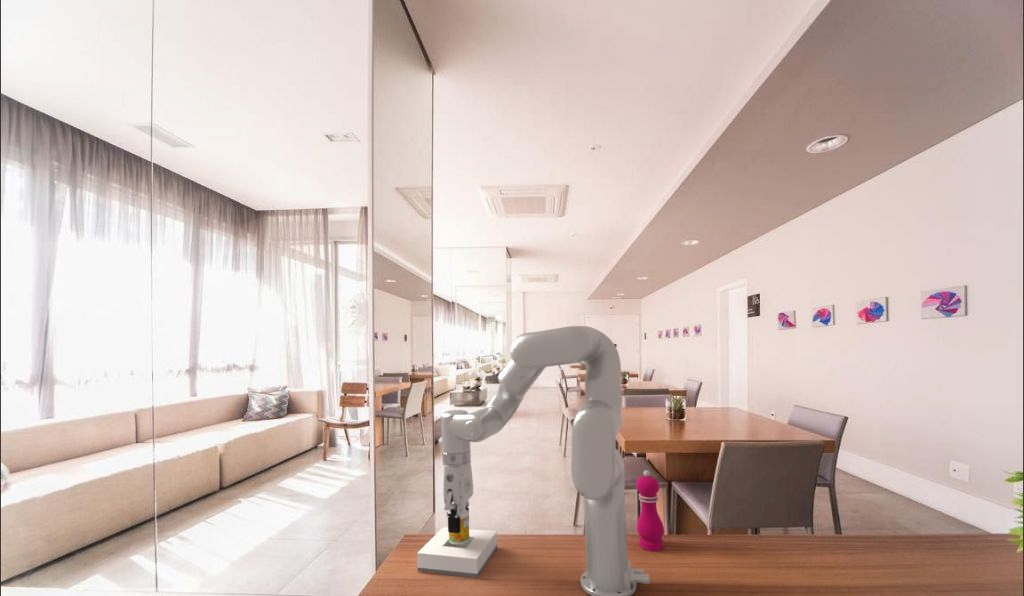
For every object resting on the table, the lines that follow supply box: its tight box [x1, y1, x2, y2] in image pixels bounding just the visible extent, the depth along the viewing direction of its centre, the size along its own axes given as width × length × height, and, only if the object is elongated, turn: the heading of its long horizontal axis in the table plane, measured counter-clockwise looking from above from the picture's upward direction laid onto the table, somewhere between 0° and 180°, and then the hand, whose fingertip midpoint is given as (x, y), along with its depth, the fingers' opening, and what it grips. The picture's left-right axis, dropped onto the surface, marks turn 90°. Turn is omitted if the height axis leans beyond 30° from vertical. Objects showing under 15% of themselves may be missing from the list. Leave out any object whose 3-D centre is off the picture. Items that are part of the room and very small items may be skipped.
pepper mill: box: [635, 469, 665, 552], centre depth 125 cm, size 7×7×20 cm
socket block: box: [416, 526, 498, 579], centre depth 121 cm, size 16×16×4 cm
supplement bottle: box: [449, 502, 470, 545], centre depth 121 cm, size 5×5×10 cm
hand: (458, 526), depth 121 cm, fingers closed on supplement bottle, 5 cm apart
